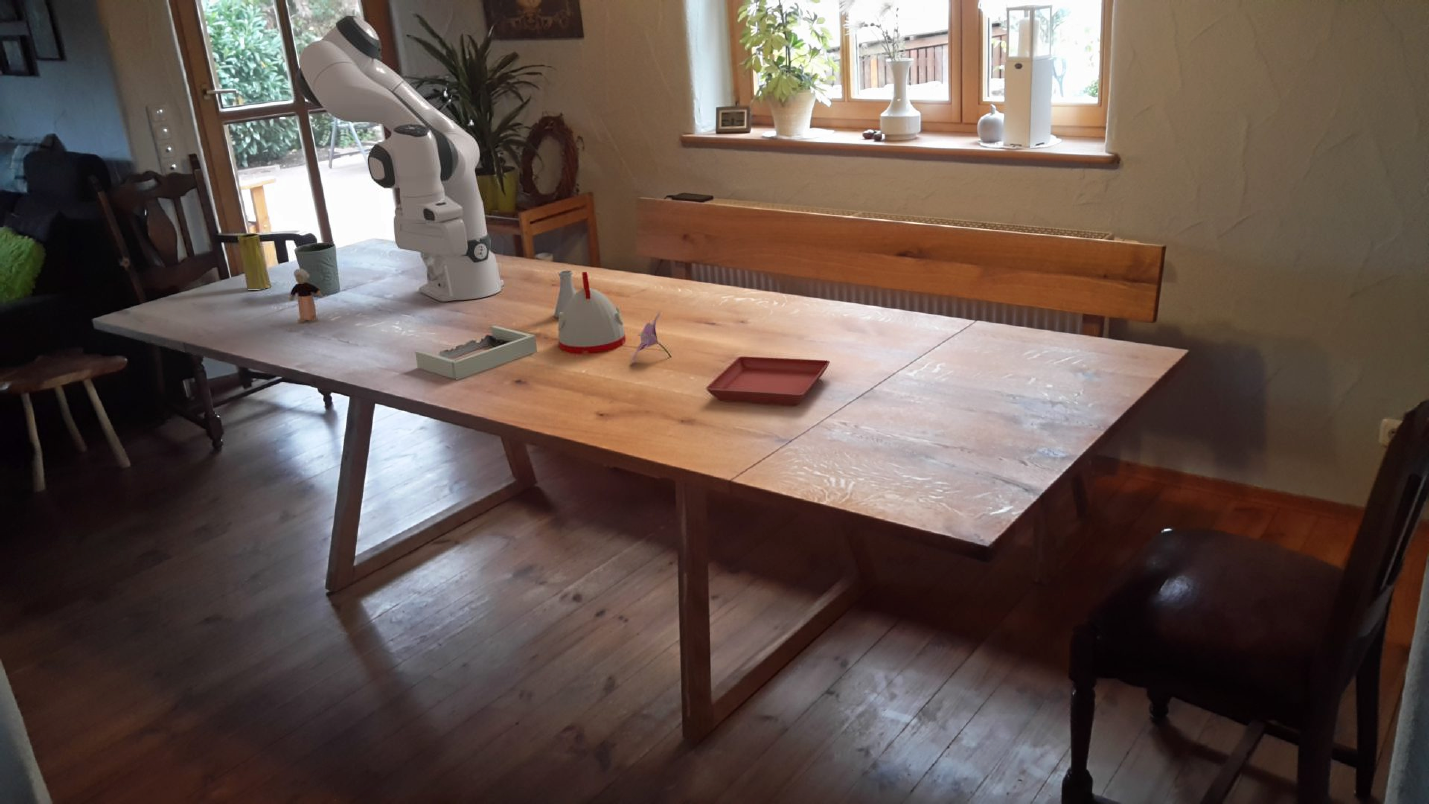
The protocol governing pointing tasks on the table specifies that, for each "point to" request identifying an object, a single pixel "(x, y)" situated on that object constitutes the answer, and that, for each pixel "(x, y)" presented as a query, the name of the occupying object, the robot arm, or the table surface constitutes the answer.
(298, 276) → the grandmother figurine
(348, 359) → the table surface
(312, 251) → the green plant pot
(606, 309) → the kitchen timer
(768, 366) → the plant saucer
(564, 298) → the flask
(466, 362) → the frame
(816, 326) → the table surface
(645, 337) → the lily
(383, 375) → the table surface
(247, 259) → the vase
